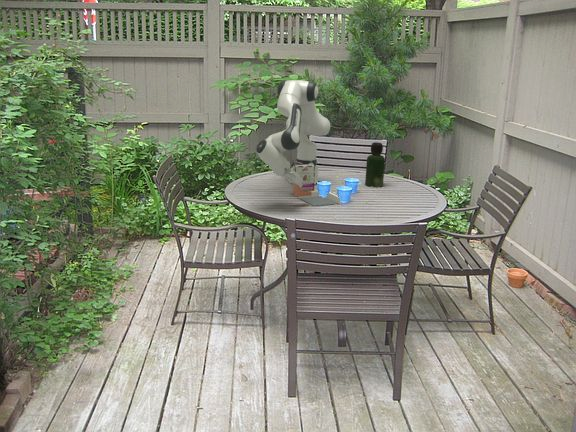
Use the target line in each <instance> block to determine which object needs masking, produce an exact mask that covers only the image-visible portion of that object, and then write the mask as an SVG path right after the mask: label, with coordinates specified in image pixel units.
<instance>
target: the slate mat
mask: <svg viewBox="0 0 576 432" xmlns="http://www.w3.org/2000/svg"><path fill="white" fill-rule="evenodd" d="M299 200H300V201H302V202H304V203H306V204H308V205H310V206H311V207H314V206H315V207H323V206H325V205H326V206H335V205H334V204H337V205H340V204H339V203H337V202H335V201H333V200H331V199H329V198H322V197H307V198H300V199H299Z"/></svg>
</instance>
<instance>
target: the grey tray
mask: <svg viewBox="0 0 576 432" xmlns="http://www.w3.org/2000/svg"><path fill="white" fill-rule="evenodd" d="M311 192H312V194H311V196H300V197H297V198H298V199H299V200H300V198H307V197H319V193H318V190H314V191H311ZM338 196H339V195H337V194H335V193H333V192H331V191H329V193H328V195H327V198H329V199H331V200H333V201H335V202H337V203H339V204H338V205H341V204H342V201H341V202H340V199H339V197H340V196H339V197H338ZM340 203H341V204H340Z"/></svg>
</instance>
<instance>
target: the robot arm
mask: <svg viewBox="0 0 576 432" xmlns="http://www.w3.org/2000/svg"><path fill="white" fill-rule="evenodd" d="M276 92H277V97H278V99H277V105H276V106H277V110H278V112H279V113H280V114H281V115H282V116H284V117H285V118H286V117H287V119H286V121H285V122H286V123H285V126H286V128H285V129H284V130H282V131H279V132H275V133H273V134H271V135H268V136H267V138H265V139H262V140H261V141H259V142H258V144H257V146H256V149H255V150H256V154H257V155H258V157H259V158H260V160H261V161H262V162H263V163H265V165H267V166H268V167H269V169H270V170H271V171H272V172H273V173H274V174H275V175H276V176H278V177H281V178H283V179H285V180H286V181H288V182H289V183H290V184H292V185H293V183H295V184H297V185H298V186H299V187H300V188H301V187H302V186H303V185H302V184H301V183H302V181H303V179H302V178H301V177H300V176H299V175H298V174H297V173H296V172H295V171H293V166H292V167H291V163H290V161H288V159H287V158H286V157H285V155H283V153H284V152H287V151H291V150H296V153H297V155H296V158H295V164H294V165H304V164H313V165H314V166H315V177H314V185H317V184H318V183H319V182H318V181H320V182H321V180H320V179H319V168H318V167H317V163H318V162H317V160H318V159H317V145H316V144H315V142H313V141H311V140H310V139H309V138H308V136H313V137H321V136H326V135H328V134H329V133H330V131H331V130H330V129H331V123H330V122H331V121H330V120H329V119H328V118H327V117H324V115H322V114H321V112H319V110H318V109H317V107H316V106H317V105H316V100H317V98H318V96H319V88H318V84H317V83H316V82H314V81H311V80H310V81H309V80H308V81H307V80H300V79H298V80H297V79H296V80H293V79H291V80H287V79H285V80H281V81H280V82H279V83H278V85H277V89H276ZM317 182H318V183H317ZM316 183H317V184H316Z"/></svg>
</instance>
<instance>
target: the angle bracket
mask: <svg viewBox="0 0 576 432" xmlns="http://www.w3.org/2000/svg"><path fill="white" fill-rule="evenodd" d="M292 190H293V194H292V195H293V196H294V195H295V196H294V197H297V198H298V197H300V196H311V194H312V192H311V191H309V190H307V189H305V190H301V188H300V187H299V186H298V185H297V184H295V183H293V184H292Z"/></svg>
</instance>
